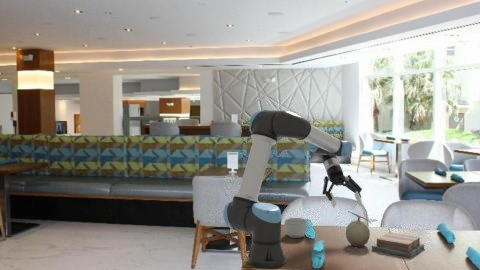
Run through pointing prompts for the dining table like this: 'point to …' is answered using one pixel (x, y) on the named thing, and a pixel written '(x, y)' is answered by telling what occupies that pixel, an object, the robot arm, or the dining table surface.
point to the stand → (398, 244)
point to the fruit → (357, 232)
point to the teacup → (295, 227)
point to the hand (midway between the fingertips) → (347, 205)
